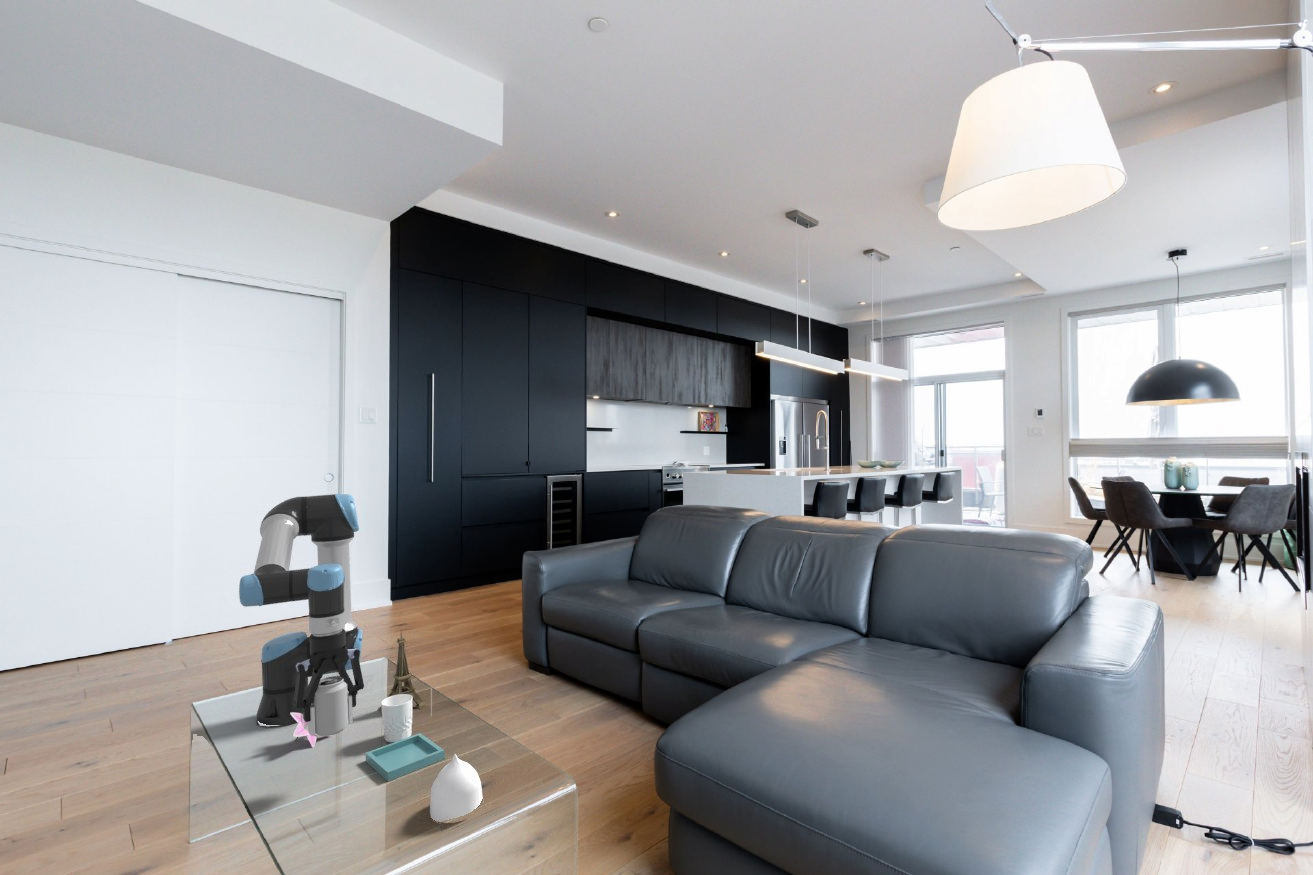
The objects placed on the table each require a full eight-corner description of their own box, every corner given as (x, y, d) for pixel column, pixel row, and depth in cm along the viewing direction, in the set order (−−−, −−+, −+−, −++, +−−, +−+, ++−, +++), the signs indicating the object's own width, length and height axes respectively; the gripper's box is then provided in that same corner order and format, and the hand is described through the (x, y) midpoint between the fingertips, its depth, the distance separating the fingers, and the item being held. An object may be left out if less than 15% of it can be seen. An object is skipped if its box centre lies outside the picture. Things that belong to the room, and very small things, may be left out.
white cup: (402, 744, 165) (401, 706, 165) (376, 743, 167) (374, 705, 167) (419, 731, 173) (418, 694, 173) (394, 729, 174) (392, 693, 174)
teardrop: (481, 819, 131) (479, 762, 131) (426, 828, 129) (424, 769, 129) (484, 790, 142) (482, 737, 142) (433, 798, 140) (431, 744, 140)
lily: (285, 761, 160) (303, 728, 161) (268, 732, 167) (285, 700, 168) (328, 756, 170) (345, 724, 171) (311, 728, 177) (327, 698, 177)
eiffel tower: (412, 697, 196) (410, 617, 196) (428, 706, 189) (425, 623, 189) (378, 708, 189) (375, 625, 189) (393, 718, 181) (390, 632, 181)
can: (321, 724, 152) (319, 674, 151) (353, 722, 152) (352, 673, 152) (307, 739, 144) (305, 687, 144) (340, 737, 145) (339, 685, 145)
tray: (365, 761, 157) (365, 752, 157) (420, 740, 167) (420, 733, 167) (388, 781, 147) (387, 772, 147) (444, 758, 157) (444, 750, 157)
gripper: (283, 646, 138) (287, 749, 138) (377, 624, 152) (380, 717, 153) (274, 639, 143) (277, 738, 144) (366, 618, 158) (369, 708, 158)
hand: (330, 727), depth 148 cm, fingers closed on can, 7 cm apart
